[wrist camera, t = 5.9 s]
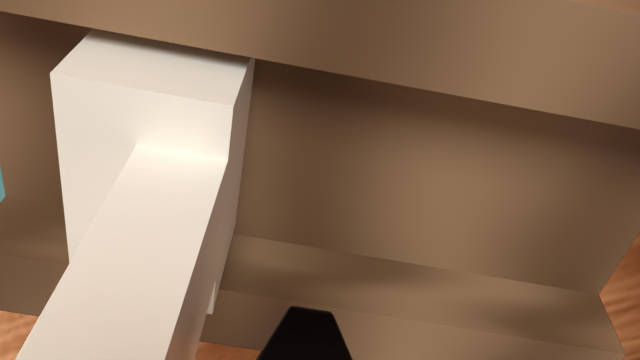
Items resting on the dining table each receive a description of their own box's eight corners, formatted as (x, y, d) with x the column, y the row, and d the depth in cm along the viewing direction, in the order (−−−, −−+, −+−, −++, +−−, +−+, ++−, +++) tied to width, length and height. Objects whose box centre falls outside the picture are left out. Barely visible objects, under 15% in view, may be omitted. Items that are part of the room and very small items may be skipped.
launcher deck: (671, -53, 15) (854, 57, 10) (527, 230, 21) (589, 401, 16) (59, -179, 14) (-133, -139, 9) (83, 153, 20) (-23, 306, 15)
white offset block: (258, 36, 12) (145, 357, 6) (235, 225, 15) (145, 574, 9) (112, 9, 12) (-179, 308, 5) (118, 205, 15) (-63, 547, 8)
